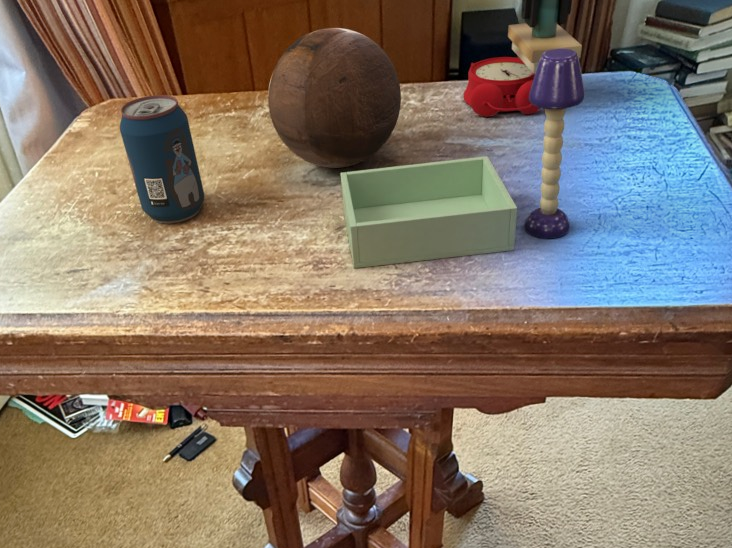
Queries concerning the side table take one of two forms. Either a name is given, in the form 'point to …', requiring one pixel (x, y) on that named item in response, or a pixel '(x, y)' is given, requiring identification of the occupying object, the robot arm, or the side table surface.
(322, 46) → the wooden sphere
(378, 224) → the tub
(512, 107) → the alarm clock
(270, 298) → the side table surface
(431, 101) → the side table surface
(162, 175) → the soda can
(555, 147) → the toy lamp
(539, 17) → the brush
